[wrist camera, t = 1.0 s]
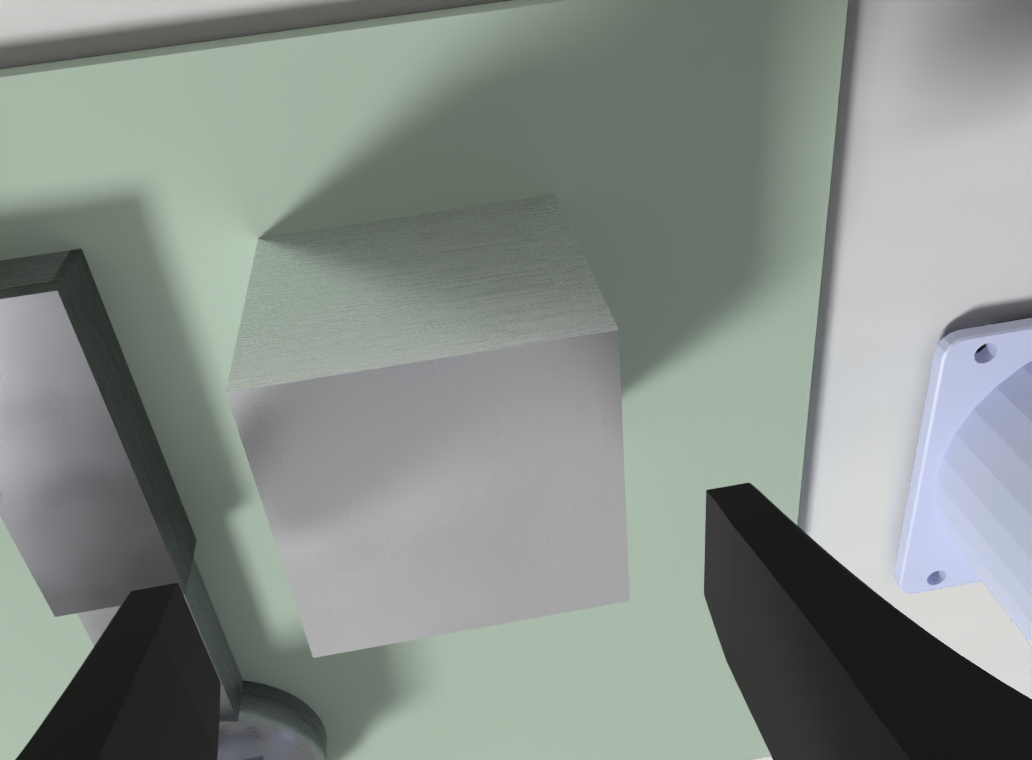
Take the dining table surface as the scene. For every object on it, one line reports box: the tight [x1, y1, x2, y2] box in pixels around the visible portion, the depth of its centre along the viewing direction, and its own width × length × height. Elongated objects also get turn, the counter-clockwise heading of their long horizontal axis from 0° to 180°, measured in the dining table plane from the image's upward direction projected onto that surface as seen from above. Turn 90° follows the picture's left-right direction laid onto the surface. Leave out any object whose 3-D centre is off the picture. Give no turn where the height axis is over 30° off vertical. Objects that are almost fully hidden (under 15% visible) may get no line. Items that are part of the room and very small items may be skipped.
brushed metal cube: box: [225, 194, 630, 658], centre depth 16 cm, size 5×5×5 cm
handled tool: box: [0, 249, 327, 760], centre depth 19 cm, size 5×17×4 cm, turn 6°
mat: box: [0, 0, 848, 760], centre depth 21 cm, size 26×22×1 cm
